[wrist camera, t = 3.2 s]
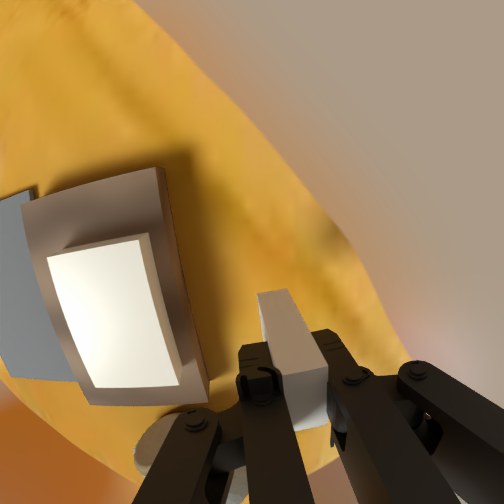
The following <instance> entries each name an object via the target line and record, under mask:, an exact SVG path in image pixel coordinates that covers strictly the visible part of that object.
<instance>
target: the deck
mask: <svg viewBox="0 0 504 504" xmlns="http://www.w3.org/2000/svg"><path fill="white" fill-rule="evenodd" d="M20 208H21V213H22V219H23V224H24V229H25V234H26V239H27V243H28V248H29V252H30V256H31V260H32V264H33V267H34V271H35V275H36V278H37V281H38V285H39V288H40V291H41V294H42V297H43V300H44V303H45V306H46V309H47V312H48V315H49V317H50V320H51V323H52V325H53V328H54V330H55V333H56V335H57V338H58V340H59V343H60V345H61V347H62V350H63V352H64V354H65V356H66V359H67V361H68V363H69V365H70V367H71V369H72V371H73V373H74V375H75V377H76V379H77V381H78V383H79V385H80V387H81V389H82V391H83V393H84V395H85V397H86V398H87V400H88V402H89V404H90V405H101V406H162V405H181V404H195V403H207V402H209V385H210V381H209V377H208V374H207V370H206V367H205V363H204V359H203V356H202V352H201V348H200V344H199V340H198V336H197V332H196V328H195V324H194V320H193V316H192V312H191V308H190V303H189V299H188V294H187V290H186V285H185V281H184V276H183V271H182V267H181V262H180V257H179V252H178V247H177V242H176V236H175V231H174V225H173V220H172V214H171V208H170V202H169V196H168V190H167V183H166V177H165V170H164V168H158V167H153V168H148V169H143V170H139V171H134V172H130V173H126V174H122V175H118V176H114V177H110V178H106V179H102V180H98V181H94V182H91V183H87V184H83V185H80V186H76V187H73V188H70V189H66V190H63V191H60V192H57V193H53V194H50V195H47V196H44V197H41V198H38V199H35V200H32V201H29V202H26V203H24V204H21V205H20ZM142 233H149V238H150V243H151V248H152V252H153V257H154V262H155V266H156V270H157V275H158V279H159V283H160V287H161V291H162V295H163V299H164V303H165V307H166V311H167V315H168V318H169V322H170V326H171V329H172V333H173V336H174V340H175V343H176V346H177V350H178V353H179V356H180V359H181V363H182V366H183V368H182V373H181V378H180V384H179V385H176V386H160V387H136V388H95V386H94V384H93V382H92V380H91V378H90V376H89V374H88V372H87V369H86V367H85V365H84V363H83V361H82V358H81V356H80V354H79V351H78V349H77V347H76V344H75V342H74V339H73V337H72V334H71V332H70V329H69V327H68V324H67V321H66V319H65V316H64V313H63V310H62V307H61V304H60V301H59V298H58V295H57V292H56V289H55V286H54V282H53V279H52V275H51V272H50V268H49V265H48V261H47V257H48V256H50V255H52V254H54V253H56V252H58V251H60V250H62V249H66V248H70V247H75V246H80V245H85V244H90V243H95V242H100V241H105V240H110V239H116V238H121V237H126V236H131V235H137V234H142Z"/></svg>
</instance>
